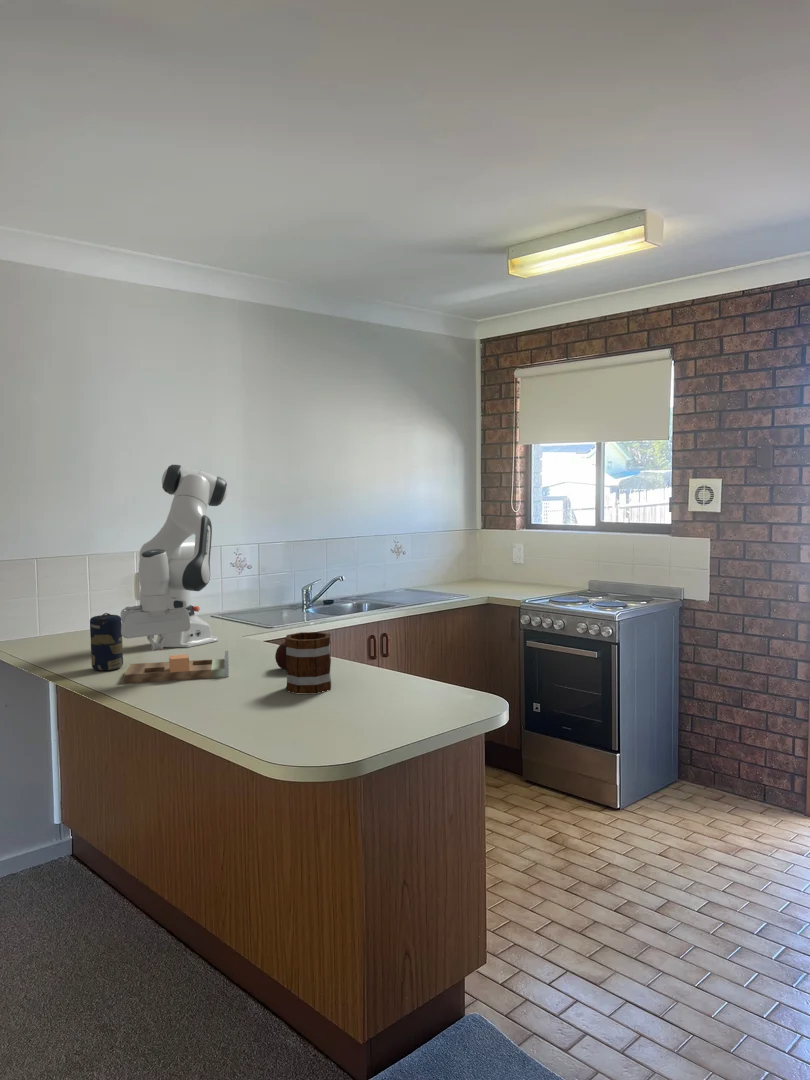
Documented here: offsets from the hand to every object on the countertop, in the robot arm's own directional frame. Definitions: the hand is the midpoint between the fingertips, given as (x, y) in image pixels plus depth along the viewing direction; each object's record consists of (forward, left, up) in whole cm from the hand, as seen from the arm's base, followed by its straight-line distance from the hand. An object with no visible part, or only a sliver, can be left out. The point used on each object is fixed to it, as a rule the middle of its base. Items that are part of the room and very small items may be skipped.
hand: (157, 649), depth 238 cm
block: (-5, +4, -6) cm, 9 cm away
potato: (-34, +21, -9) cm, 41 cm away
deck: (-7, 0, -9) cm, 11 cm away
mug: (-27, +42, -9) cm, 50 cm away
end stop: (-19, +7, -9) cm, 23 cm away
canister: (+5, -24, -9) cm, 26 cm away
